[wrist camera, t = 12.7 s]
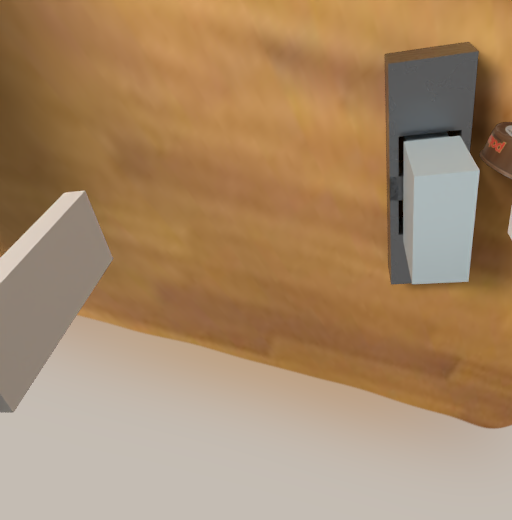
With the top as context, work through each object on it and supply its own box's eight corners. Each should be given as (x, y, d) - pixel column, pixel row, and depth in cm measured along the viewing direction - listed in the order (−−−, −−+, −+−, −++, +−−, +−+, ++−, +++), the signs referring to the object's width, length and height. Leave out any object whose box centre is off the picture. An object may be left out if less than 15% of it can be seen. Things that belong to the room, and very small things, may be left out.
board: (388, 265, 48) (391, 284, 45) (384, 54, 36) (388, 63, 34) (452, 262, 46) (458, 281, 44) (468, 41, 35) (478, 51, 33)
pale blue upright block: (398, 217, 44) (412, 284, 36) (398, 123, 39) (414, 176, 31) (443, 214, 43) (468, 281, 35) (449, 117, 38) (479, 170, 30)
